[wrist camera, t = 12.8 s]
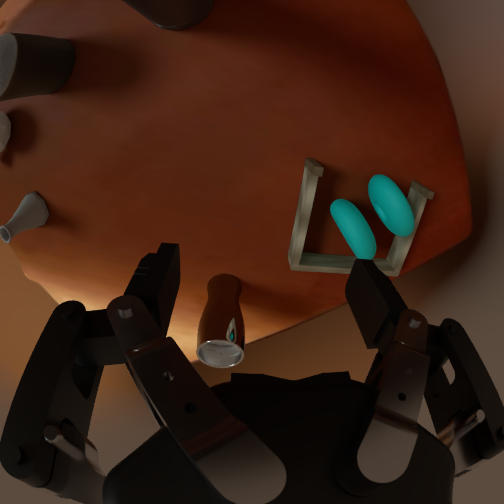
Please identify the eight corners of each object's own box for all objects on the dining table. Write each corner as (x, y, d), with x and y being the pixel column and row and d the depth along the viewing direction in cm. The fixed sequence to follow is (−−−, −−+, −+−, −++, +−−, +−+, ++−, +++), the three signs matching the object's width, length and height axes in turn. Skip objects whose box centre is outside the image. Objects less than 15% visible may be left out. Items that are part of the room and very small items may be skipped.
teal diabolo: (319, 196, 40) (340, 225, 31) (372, 163, 37) (405, 183, 29) (347, 242, 44) (368, 278, 36) (394, 212, 42) (424, 241, 33)
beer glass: (242, 303, 50) (243, 370, 38) (205, 300, 50) (196, 367, 37) (245, 272, 47) (247, 340, 34) (204, 270, 46) (193, 337, 33)
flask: (19, 203, 37) (-13, 227, 29) (35, 184, 36) (1, 206, 27) (36, 232, 41) (8, 259, 32) (54, 215, 39) (24, 243, 31)
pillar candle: (85, 59, 26) (21, 54, 13) (48, 105, 29) (-17, 121, 16) (59, 28, 22) (-2, 19, 9) (25, 73, 25) (-36, 81, 12)
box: (305, 157, 37) (314, 166, 32) (417, 181, 38) (434, 192, 34) (287, 256, 45) (291, 274, 41) (389, 263, 47) (400, 280, 42)
